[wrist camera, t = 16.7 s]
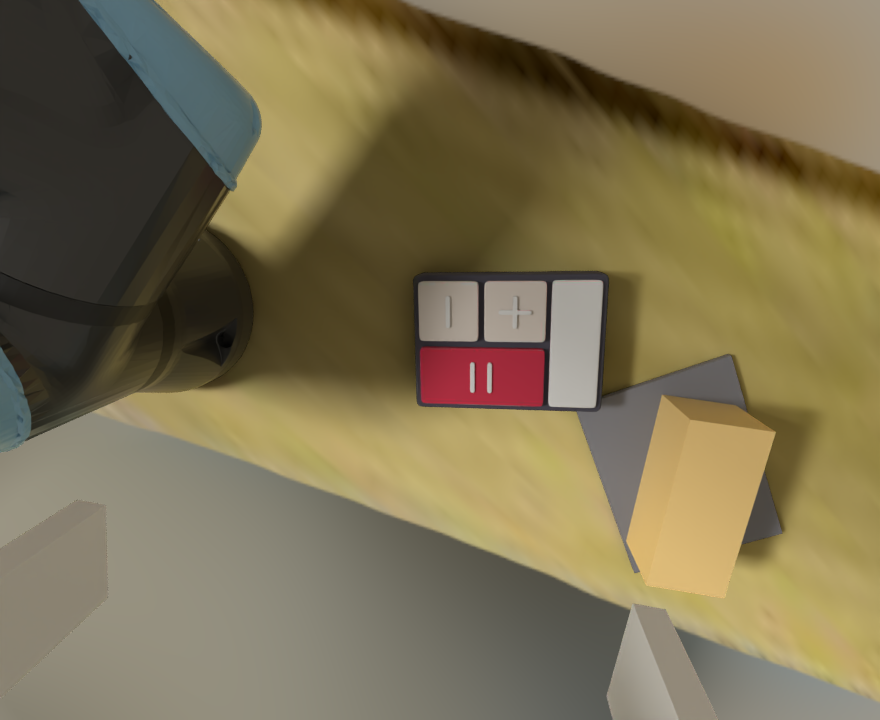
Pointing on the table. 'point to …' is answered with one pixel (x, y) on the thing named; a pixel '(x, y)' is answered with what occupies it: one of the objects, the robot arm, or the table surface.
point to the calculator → (510, 339)
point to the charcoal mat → (630, 430)
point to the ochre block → (697, 494)
